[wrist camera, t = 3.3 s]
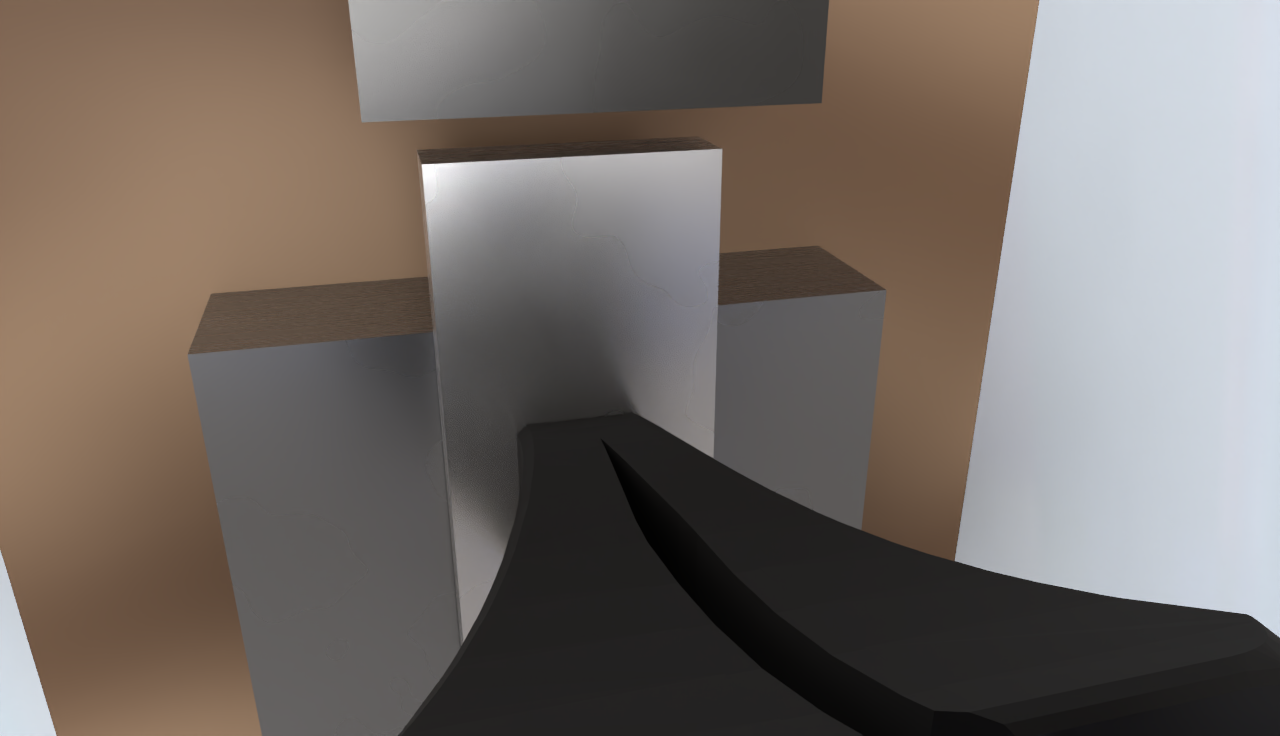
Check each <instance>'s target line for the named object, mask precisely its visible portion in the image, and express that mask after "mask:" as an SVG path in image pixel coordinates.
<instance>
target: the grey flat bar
mask: <svg viewBox="0 0 1280 736" xmlns="http://www.w3.org/2000/svg"><path fill="white" fill-rule="evenodd" d="M417 159H418V171H419V182H420V193H421V204H422V216H423V227H424V238H425V249H426V261H427V272H428V283H429V294H430V306H431V317H432V328H433V339H434V351H435V362H436V373H437V385H438V396H439V407H440V418H441V430H442V441H443V452H444V463H445V475H446V486H447V497H448V508H449V520H450V531H451V542H452V553H453V565H454V576H455V587H456V598H457V610H458V621H459V632H460V643H461V646H462V644H463V642H464V640H465V638H466V637H467V635H468V633H469V631H470V629H471V628H472V626H473V624H474V622H475V620H476V619H477V617H478V615H479V613H480V611H481V609H482V607H483V605H484V602H485V600H486V598H487V596H488V594H489V592H490V589H491V587H492V585H493V582H494V580H495V578H496V575H497V572H498V570H499V567H500V565H501V562H502V559H503V556H504V553H505V550H506V547H507V543H508V540H509V537H510V533H511V530H512V527H513V524H514V520H515V516H516V512H517V507H518V501H519V495H520V487H519V469H518V452H517V435H518V434H519V433H520V432H521V431H522V430H523V428H524V427H525V426H526V425H534V424H542V423H550V422H559V421H567V420H576V419H584V418H593V417H601V416H609V415H617V414H625V413H635V414H637V415H639V416H641V417H643V418H645V419H647V420H649V421H651V422H653V423H654V424H656V425H658V426H659V427H661V428H663V429H665V430H666V431H668V432H670V433H671V434H673V435H675V436H676V437H678V438H680V439H681V440H683V441H685V442H686V443H688V444H690V445H691V446H693V447H695V448H697V449H698V450H700V451H702V452H703V453H705V454H707V455H708V456H710V457H712V458H713V455H714V421H715V386H716V351H717V317H718V282H719V248H720V213H721V178H722V148H720V147H718V146H716V145H714V144H712V143H710V142H708V141H706V140H704V139H702V138H700V137H698V136H691V137H671V138H650V139H630V140H609V141H589V142H568V143H548V144H528V145H507V146H487V147H466V148H446V149H425V150H417Z"/></svg>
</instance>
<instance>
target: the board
mask: <svg viewBox="0 0 1280 736" xmlns="http://www.w3.org/2000/svg"><path fill="white" fill-rule="evenodd" d="M1038 5H1039V0H829V9H828V23H827V37H826V51H825V65H824V79H823V93H822V103H816V104H792V105H768V106H744V107H720V108H696V109H673V110H649V111H625V112H601V113H577V114H553V115H529V116H505V117H481V118H457V119H433V120H409V121H385V122H361V113H360V104H359V94H358V85H357V76H356V67H355V58H354V49H353V39H352V30H351V21H350V12H349V3H348V0H0V550H1V553H2V556H3V559H4V563H5V566H6V569H7V573H8V576H9V579H10V583H11V586H12V589H13V593H14V596H15V599H16V602H17V606H18V609H19V612H20V616H21V619H22V622H23V626H24V629H25V632H26V635H27V639H28V642H29V645H30V649H31V652H32V655H33V659H34V662H35V665H36V669H37V672H38V675H39V678H40V682H41V685H42V688H43V692H44V695H45V698H46V702H47V705H48V708H49V711H50V715H51V718H52V721H53V725H54V728H55V731H56V735H57V736H262V733H261V728H260V723H259V718H258V713H257V708H256V703H255V698H254V693H253V687H252V682H251V677H250V672H249V667H248V662H247V657H246V652H245V647H244V642H243V636H242V631H241V626H240V621H239V616H238V611H237V606H236V601H235V596H234V590H233V585H232V580H231V575H230V570H229V565H228V560H227V555H226V550H225V544H224V539H223V534H222V529H221V524H220V519H219V514H218V509H217V504H216V498H215V493H214V488H213V483H212V478H211V473H210V468H209V463H208V458H207V452H206V447H205V442H204V437H203V432H202V427H201V422H200V417H199V412H198V407H197V401H196V396H195V391H194V386H193V381H192V376H191V371H190V366H189V361H188V355H187V354H188V352H189V349H190V347H191V344H192V342H193V339H194V336H195V334H196V331H197V329H198V326H199V324H200V321H201V318H202V316H203V313H204V311H205V308H206V305H207V303H208V300H209V298H210V295H211V294H214V293H226V292H239V291H251V290H264V289H277V288H289V287H302V286H314V285H327V284H340V283H352V282H365V281H377V280H390V279H403V278H415V277H428V272H427V261H426V249H425V238H424V227H423V216H422V204H421V193H420V182H419V171H418V159H417V150H425V149H446V148H466V147H487V146H507V145H528V144H548V143H568V142H589V141H609V140H630V139H650V138H671V137H691V136H698V137H700V138H702V139H704V140H706V141H708V142H710V143H712V144H714V145H716V146H718V147H720V148H722V178H721V213H720V248H719V253H730V252H742V251H755V250H768V249H780V248H793V247H805V246H820V247H821V248H823V249H824V250H826V251H827V252H829V253H830V254H832V255H833V256H835V257H837V258H838V259H840V260H841V261H843V262H844V263H846V264H847V265H849V266H850V267H852V268H854V269H855V270H857V271H858V272H860V273H861V274H863V275H864V276H866V277H868V278H869V279H871V280H872V281H874V282H875V283H877V284H878V285H880V286H881V287H883V288H885V289H886V290H887V291H886V300H885V310H884V319H883V329H882V338H881V348H880V357H879V367H878V376H877V386H876V395H875V405H874V414H873V424H872V433H871V443H870V452H869V462H868V471H867V481H866V490H865V500H864V509H863V519H862V528H861V530H862V531H865V532H868V533H870V534H873V535H875V536H878V537H881V538H883V539H886V540H889V541H891V542H894V543H897V544H900V545H903V546H906V547H909V548H912V549H915V550H918V551H921V552H924V553H927V554H931V555H934V556H938V557H941V558H945V559H948V560H952V561H954V560H955V554H956V547H957V540H958V534H959V527H960V521H961V514H962V507H963V501H964V494H965V488H966V481H967V474H968V468H969V461H970V455H971V448H972V441H973V435H974V428H975V422H976V415H977V408H978V402H979V395H980V388H981V382H982V375H983V369H984V362H985V355H986V349H987V342H988V336H989V329H990V322H991V316H992V309H993V303H994V296H995V289H996V283H997V276H998V270H999V263H1000V256H1001V250H1002V243H1003V236H1004V230H1005V223H1006V217H1007V210H1008V203H1009V197H1010V190H1011V184H1012V177H1013V170H1014V164H1015V157H1016V151H1017V144H1018V137H1019V131H1020V124H1021V118H1022V111H1023V104H1024V98H1025V91H1026V84H1027V78H1028V71H1029V65H1030V58H1031V51H1032V45H1033V38H1034V32H1035V25H1036V18H1037V12H1038Z"/></svg>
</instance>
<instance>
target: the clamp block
mask: <svg viewBox="0 0 1280 736" xmlns="http://www.w3.org/2000/svg"><path fill="white" fill-rule="evenodd" d="M348 3H349V12H350V21H351V30H352V39H353V49H354V58H355V67H356V76H357V85H358V94H359V104H360V113H361V122H385V121H409V120H433V119H457V118H481V117H505V116H529V115H553V114H577V113H601V112H625V111H649V110H673V109H696V108H720V107H744V106H768V105H792V104H816V103H822V93H823V79H824V65H825V51H826V37H827V23H828V9H829V0H348ZM886 291H887V290H886V289H885V288H883V287H881V286H880V285H878V284H877V283H875V282H874V281H872V280H871V279H869V278H868V277H866V276H864V275H863V274H861V273H860V272H858V271H857V270H855V269H854V268H852V267H850V266H849V265H847V264H846V263H844V262H843V261H841V260H840V259H838V258H837V257H835V256H833V255H832V254H830V253H829V252H827V251H826V250H824V249H823V248H821V247H820V246H805V247H793V248H780V249H768V250H755V251H742V252H730V253H719V282H718V317H717V351H716V386H715V421H714V455H713V458H714V459H715V460H717V461H719V462H721V463H722V464H724V465H726V466H728V467H729V468H731V469H733V470H735V471H736V472H738V473H740V474H742V475H744V476H746V477H747V478H749V479H751V480H753V481H755V482H757V483H759V484H761V485H763V486H764V487H766V488H768V489H770V490H772V491H774V492H776V493H778V494H780V495H782V496H785V497H787V498H789V499H791V500H793V501H795V502H797V503H799V504H801V505H803V506H805V507H807V508H809V509H811V510H814V511H816V512H818V513H820V514H823V515H825V516H827V517H830V518H832V519H834V520H837V521H839V522H841V523H844V524H846V525H849V526H852V527H854V528H857V529H860V530H861V528H862V519H863V509H864V500H865V490H866V481H867V471H868V462H869V452H870V443H871V433H872V424H873V414H874V405H875V395H876V386H877V376H878V367H879V357H880V348H881V338H882V329H883V319H884V310H885V300H886ZM187 355H188V361H189V366H190V371H191V376H192V381H193V386H194V391H195V396H196V401H197V407H198V412H199V417H200V422H201V427H202V432H203V437H204V442H205V447H206V452H207V458H208V463H209V468H210V473H211V478H212V483H213V488H214V493H215V498H216V504H217V509H218V514H219V519H220V524H221V529H222V534H223V539H224V544H225V550H226V555H227V560H228V565H229V570H230V575H231V580H232V585H233V590H234V596H235V601H236V606H237V611H238V616H239V621H240V626H241V631H242V636H243V642H244V647H245V652H246V657H247V662H248V667H249V672H250V677H251V682H252V687H253V693H254V698H255V703H256V708H257V713H258V718H259V723H260V728H261V733H262V736H398V735H399V733H400V732H401V731H402V730H403V729H404V727H405V726H406V725H407V723H408V722H409V721H410V719H411V718H412V717H413V715H414V714H415V713H416V711H417V710H418V709H419V707H420V706H421V704H422V703H423V702H424V700H425V699H426V698H427V696H428V695H429V694H430V692H431V691H432V690H433V688H434V687H435V686H436V684H437V683H438V682H439V680H440V679H441V677H442V676H443V675H444V673H445V672H446V670H447V669H448V667H449V666H450V664H451V662H452V661H453V659H454V657H455V656H456V654H457V653H458V651H459V649H460V648H461V643H460V632H459V621H458V610H457V598H456V587H455V576H454V565H453V553H452V542H451V531H450V520H449V508H448V497H447V486H446V475H445V463H444V452H443V441H442V430H441V418H440V407H439V396H438V385H437V373H436V362H435V351H434V339H433V328H432V317H431V306H430V294H429V283H428V277H415V278H403V279H390V280H377V281H365V282H352V283H340V284H327V285H314V286H302V287H289V288H277V289H264V290H251V291H239V292H226V293H214V294H211V295H210V298H209V300H208V303H207V305H206V308H205V311H204V313H203V316H202V318H201V321H200V324H199V326H198V329H197V331H196V334H195V336H194V339H193V342H192V344H191V347H190V349H189V352H188V354H187Z"/></svg>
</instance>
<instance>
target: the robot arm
mask: <svg viewBox="0 0 1280 736" xmlns="http://www.w3.org/2000/svg"><path fill="white" fill-rule="evenodd" d="M517 452H518V469H519V487H520V495H519V501H518V507H517V512H516V516H515V520H514V524H513V527H512V530H511V533H510V537H509V540H508V543H507V547H506V550H505V553H504V556H503V559H502V562H501V565H500V567H499V570H498V572H497V575H496V578H495V580H494V582H493V585H492V587H491V589H490V592H489V594H488V596H487V598H486V600H485V602H484V605H483V607H482V609H481V611H480V613H479V615H478V617H477V619H476V620H475V622H474V624H473V626H472V628H471V629H470V631H469V633H468V635H467V637H466V638H465V640H464V642H463V644H462V646H461V648H460V649H459V651H458V653H457V654H456V656H455V657H454V659H453V661H452V662H451V664H450V666H449V667H448V669H447V670H446V672H445V673H444V675H443V676H442V677H441V679H440V680H439V682H438V683H437V684H436V686H435V687H434V688H433V690H432V691H431V692H430V694H429V695H428V696H427V698H426V699H425V700H424V702H423V703H422V704H421V706H420V707H419V709H418V710H417V711H416V713H415V714H414V715H413V717H412V718H411V719H410V721H409V722H408V723H407V725H406V726H405V727H404V729H403V730H402V731H401V732H400V733H399V735H398V736H1280V638H1279V637H1278V636H1277V635H1275V634H1274V633H1273V632H1271V631H1270V630H1269V629H1268V628H1266V627H1265V626H1264V625H1262V624H1261V623H1260V622H1259V621H1257V620H1256V619H1254V618H1253V617H1251V616H1249V615H1247V614H1240V613H1232V612H1224V611H1216V610H1209V609H1201V608H1193V607H1185V606H1177V605H1170V604H1162V603H1154V602H1146V601H1138V600H1130V599H1123V598H1116V597H1110V596H1104V595H1099V594H1094V593H1089V592H1084V591H1079V590H1074V589H1068V588H1063V587H1058V586H1053V585H1048V584H1043V583H1038V582H1033V581H1029V580H1025V579H1020V578H1016V577H1012V576H1008V575H1003V574H999V573H995V572H991V571H987V570H983V569H980V568H976V567H973V566H969V565H966V564H962V563H959V562H955V561H952V560H948V559H945V558H941V557H938V556H934V555H931V554H927V553H924V552H921V551H918V550H915V549H912V548H909V547H906V546H903V545H900V544H897V543H894V542H891V541H889V540H886V539H883V538H881V537H878V536H875V535H873V534H870V533H868V532H865V531H862V530H860V529H857V528H854V527H852V526H849V525H846V524H844V523H841V522H839V521H837V520H834V519H832V518H830V517H827V516H825V515H823V514H820V513H818V512H816V511H814V510H811V509H809V508H807V507H805V506H803V505H801V504H799V503H797V502H795V501H793V500H791V499H789V498H787V497H785V496H782V495H780V494H778V493H776V492H774V491H772V490H770V489H768V488H766V487H764V486H763V485H761V484H759V483H757V482H755V481H753V480H751V479H749V478H747V477H746V476H744V475H742V474H740V473H738V472H736V471H735V470H733V469H731V468H729V467H728V466H726V465H724V464H722V463H721V462H719V461H717V460H715V459H714V458H712V457H710V456H708V455H707V454H705V453H703V452H702V451H700V450H698V449H697V448H695V447H693V446H691V445H690V444H688V443H686V442H685V441H683V440H681V439H680V438H678V437H676V436H675V435H673V434H671V433H670V432H668V431H666V430H665V429H663V428H661V427H659V426H658V425H656V424H654V423H653V422H651V421H649V420H647V419H645V418H643V417H641V416H639V415H637V414H635V413H625V414H617V415H609V416H601V417H593V418H584V419H576V420H567V421H559V422H550V423H542V424H534V425H526V426H525V427H524V428H523V430H522V431H521V432H520V433H519V434H518V435H517Z"/></svg>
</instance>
